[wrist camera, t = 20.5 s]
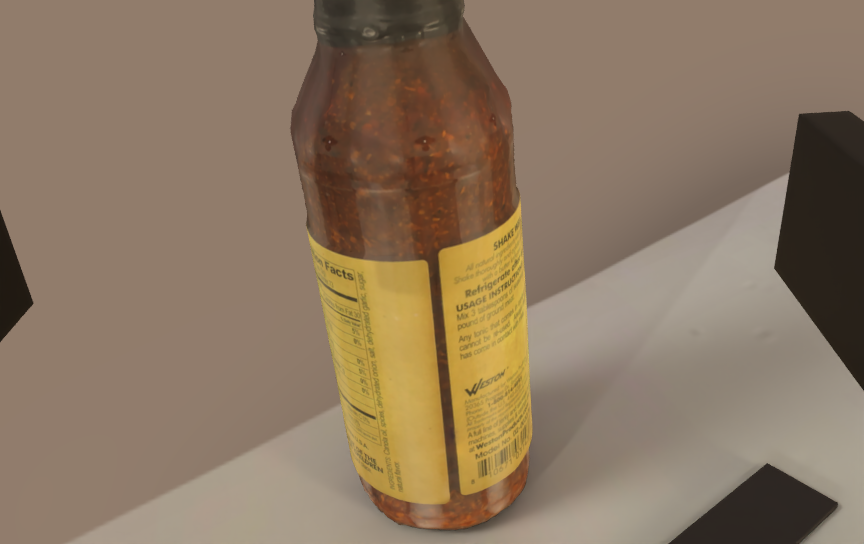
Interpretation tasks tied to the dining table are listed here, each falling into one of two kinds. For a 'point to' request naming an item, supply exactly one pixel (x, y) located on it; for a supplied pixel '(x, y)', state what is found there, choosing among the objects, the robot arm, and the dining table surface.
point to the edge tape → (762, 513)
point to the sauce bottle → (418, 256)
